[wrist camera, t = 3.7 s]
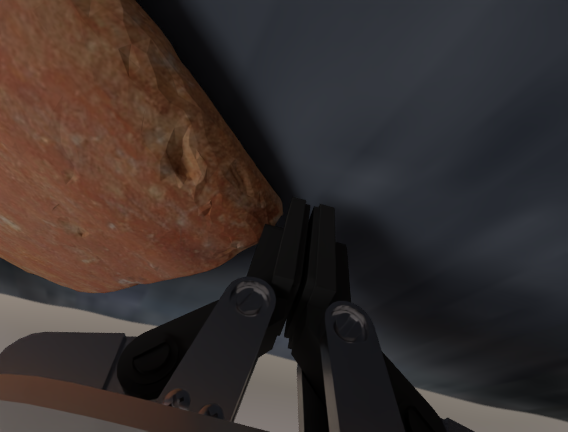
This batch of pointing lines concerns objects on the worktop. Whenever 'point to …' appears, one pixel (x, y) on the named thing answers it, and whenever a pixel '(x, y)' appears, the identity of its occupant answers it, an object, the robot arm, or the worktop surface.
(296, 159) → the worktop surface
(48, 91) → the ceramic shard
